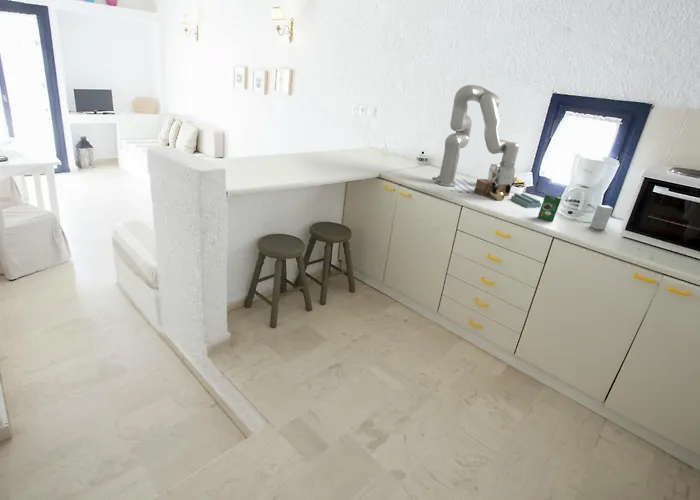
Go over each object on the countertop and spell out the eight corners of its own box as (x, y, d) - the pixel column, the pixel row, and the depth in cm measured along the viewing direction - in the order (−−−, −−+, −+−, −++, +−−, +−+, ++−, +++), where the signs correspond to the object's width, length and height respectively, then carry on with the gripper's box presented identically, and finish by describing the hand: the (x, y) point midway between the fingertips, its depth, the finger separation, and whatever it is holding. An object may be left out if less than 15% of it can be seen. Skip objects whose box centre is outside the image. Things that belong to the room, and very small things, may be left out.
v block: (526, 207, 236) (528, 201, 234) (510, 199, 247) (512, 193, 246) (540, 207, 239) (542, 201, 237) (523, 199, 251) (525, 193, 249)
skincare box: (599, 226, 219) (608, 205, 214) (604, 229, 215) (613, 208, 210) (589, 225, 218) (597, 204, 213) (594, 229, 214) (603, 207, 209)
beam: (481, 195, 248) (485, 183, 244) (474, 191, 254) (477, 179, 251) (508, 195, 255) (512, 183, 251) (500, 191, 261) (503, 179, 258)
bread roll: (504, 200, 243) (504, 192, 241) (497, 201, 242) (497, 194, 240) (487, 191, 257) (488, 184, 254) (480, 193, 256) (481, 185, 253)
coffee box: (553, 220, 219) (561, 197, 213) (553, 222, 217) (561, 198, 211) (537, 216, 222) (545, 193, 217) (537, 218, 220) (544, 194, 214)
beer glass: (496, 189, 265) (502, 166, 259) (485, 188, 266) (491, 165, 260) (495, 187, 271) (501, 164, 265) (484, 185, 272) (490, 163, 266)
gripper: (499, 165, 230) (492, 195, 237) (523, 166, 236) (516, 194, 243) (491, 162, 236) (484, 191, 243) (515, 163, 242) (508, 191, 249)
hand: (500, 193), depth 243 cm, fingers open, 9 cm apart
